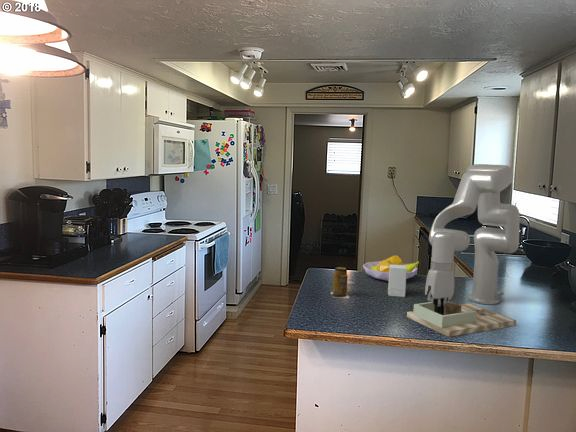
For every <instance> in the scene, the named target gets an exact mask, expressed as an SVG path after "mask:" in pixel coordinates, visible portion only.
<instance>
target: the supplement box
mask: <svg viewBox="0 0 576 432" xmlns="http://www.w3.org/2000/svg"><path fill="white" fill-rule="evenodd" d="M406 273H407V268H406V265H390V267H389V281H388V286H387V287H388V288H387V295H388V297H389V296H390V297H402V298H404V297H406V286H407V279H406Z"/></svg>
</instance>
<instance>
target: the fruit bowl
mask: <svg viewBox="0 0 576 432" xmlns="http://www.w3.org/2000/svg"><path fill="white" fill-rule="evenodd" d="M390 265H406V268H407V273H406V280H408V279H410V278H412V277H415V275H416V273H417V270H418V267H417V266H418V265H420V261H419V260H417V261H416V262H413V263H404V262H403V260H402V259H401V257H400V256H399V255H395V254H394V255H392V256H390V257H388V258H386V259H383V260H378V261H369V262H366V263H364V264H363V265H362V267H363V270H364V271H365V273H366V274H367V275H369V276H370V277H372V278H374V279H375V280H376V279H377V280H380V281H384V282H385V281H386V282H389V267H390Z"/></svg>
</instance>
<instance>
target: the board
mask: <svg viewBox="0 0 576 432" xmlns="http://www.w3.org/2000/svg"><path fill="white" fill-rule="evenodd" d="M460 305H461V306H462V307H461V313H463V312H470V311H477V319H476V322H475V323H469V324H463V325H457V326H451V327H444V328H441V327H439V326H437V325H434V324H432V323H430V322H428V321H426V320H424V319H421V318H419V317H417V316H415V315H413V311H414V310H411V311H407V312H406V318H408V319H410V320H412V321H415V322H416V323H419V324H420V325H422V326H425V327H426V328H429V329H431V330H433V331H435V332H437V333H440V334H441V335H444V336H446V337H448V338H451V337H456V336H463V335H468V334H475V333H479V332H485V331H491V330H496V329H497V330H498V329H503V328H509V327H513V326H514V327H515V326H516V325H517V320H516V319H513V318H511V317H508V316H506V315H503V314H501V313H498V312H495V311H493V310H490V309H487V308H484V307H483V306H478V305H476V304H473V303H470V302H468V303H463V304H460Z"/></svg>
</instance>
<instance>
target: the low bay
mask: <svg viewBox="0 0 576 432" xmlns="http://www.w3.org/2000/svg"><path fill="white" fill-rule="evenodd" d="M447 302H450V300H448V301H447ZM434 306H435V305H434V304H433V302H430V301H428V302H423V303H422V302H420V303H414V304H413V310H412V311H413V315H415V316H417V317H419V318H421V319H424V320H426V321H428V322H430V323H432V324H434V325H437V326H439V327H441V328H444V327H451V326H457V325H463V324H469V323H475V322H476V319H477V311H470V312H463V313H456V314H449V315H441V314H438V313H436V312H434Z"/></svg>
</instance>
